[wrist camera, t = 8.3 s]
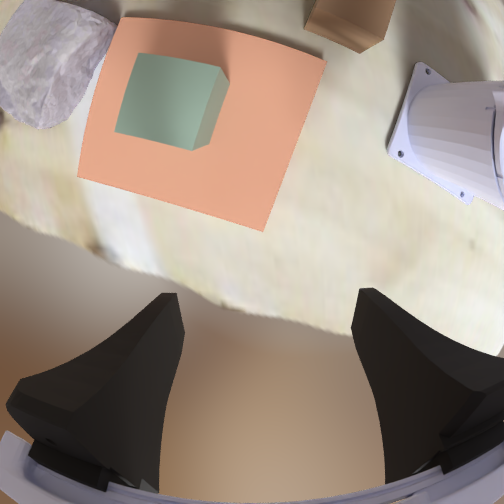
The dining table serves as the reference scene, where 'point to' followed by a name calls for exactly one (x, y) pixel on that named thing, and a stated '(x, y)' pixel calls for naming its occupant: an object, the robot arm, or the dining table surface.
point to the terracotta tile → (226, 129)
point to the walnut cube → (351, 21)
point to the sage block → (172, 101)
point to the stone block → (49, 59)
